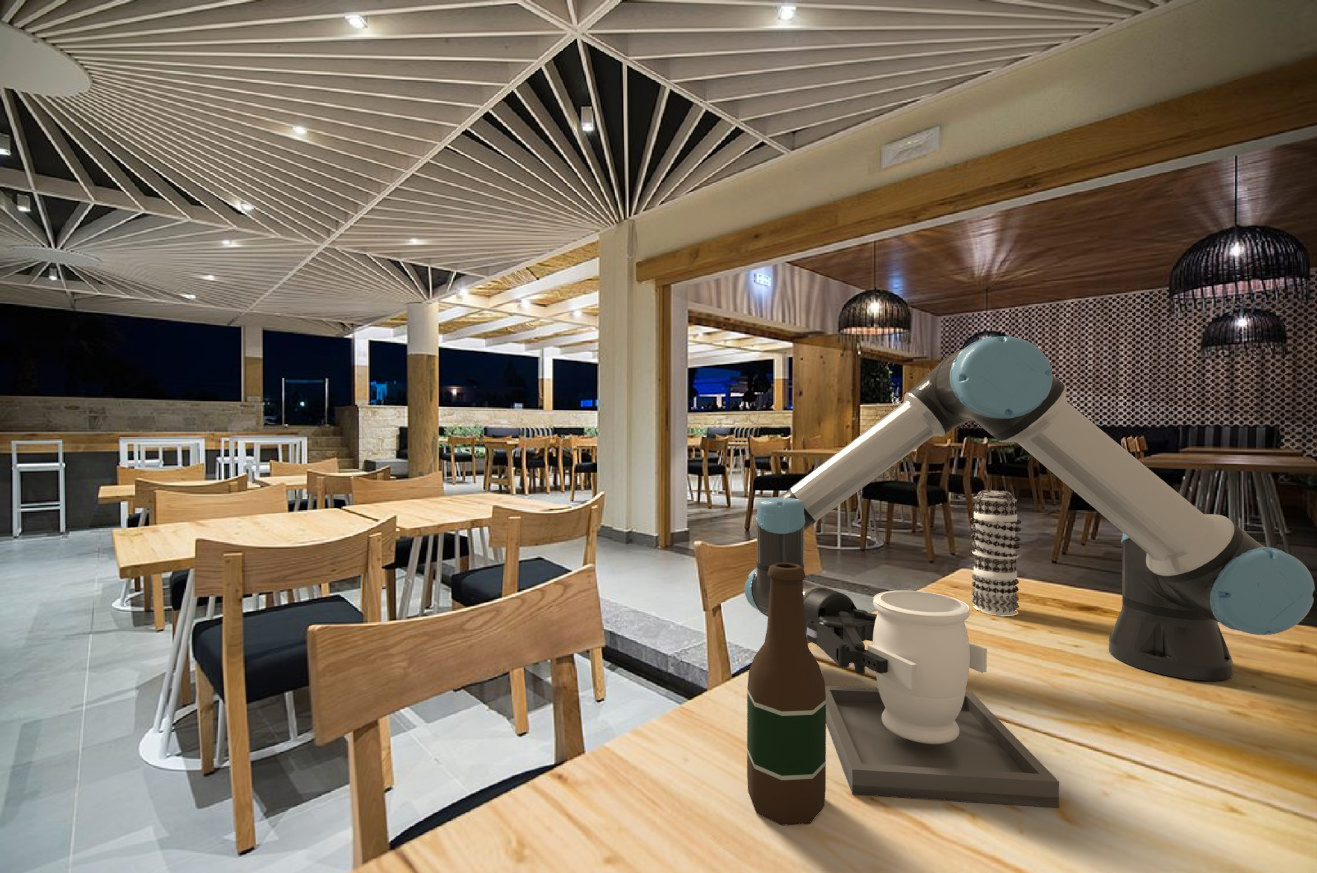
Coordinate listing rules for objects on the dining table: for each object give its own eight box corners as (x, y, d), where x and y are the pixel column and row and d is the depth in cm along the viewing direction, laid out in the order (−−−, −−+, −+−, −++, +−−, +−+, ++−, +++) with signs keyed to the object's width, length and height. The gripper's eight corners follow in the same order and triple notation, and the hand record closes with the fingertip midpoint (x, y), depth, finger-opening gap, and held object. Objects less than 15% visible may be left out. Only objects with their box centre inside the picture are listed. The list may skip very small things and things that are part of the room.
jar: (921, 760, 62) (922, 619, 62) (853, 716, 71) (853, 594, 71) (990, 739, 66) (991, 607, 66) (917, 700, 76) (918, 585, 76)
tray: (971, 711, 78) (971, 692, 78) (1058, 807, 58) (1058, 781, 58) (819, 704, 80) (819, 685, 80) (852, 794, 60) (852, 769, 60)
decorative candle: (1020, 620, 116) (1020, 494, 115) (967, 612, 121) (968, 492, 121) (1021, 608, 123) (1021, 490, 123) (972, 601, 128) (972, 488, 128)
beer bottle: (779, 838, 53) (781, 578, 53) (731, 792, 60) (732, 561, 60) (842, 813, 57) (843, 569, 57) (790, 772, 64) (791, 554, 64)
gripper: (878, 627, 90) (1018, 684, 70) (753, 650, 81) (872, 723, 60) (879, 579, 90) (1018, 621, 70) (753, 596, 80) (872, 651, 60)
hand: (950, 668), depth 65 cm, fingers closed on jar, 10 cm apart
